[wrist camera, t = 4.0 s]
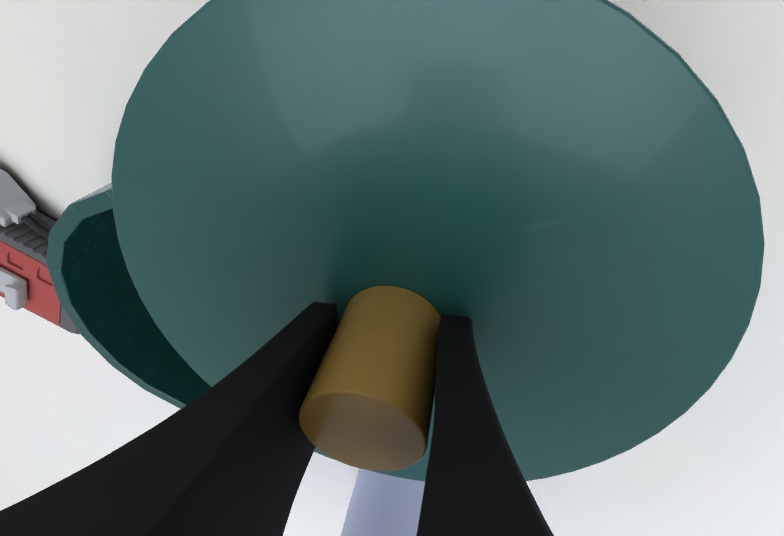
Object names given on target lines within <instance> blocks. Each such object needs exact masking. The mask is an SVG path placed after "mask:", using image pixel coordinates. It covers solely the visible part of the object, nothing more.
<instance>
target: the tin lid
mask: <svg viewBox="0 0 784 536" xmlns="http://www.w3.org/2000/svg"><path fill="white" fill-rule="evenodd" d="M112 201H113V213H114V219H115V224H116V230H117V235H118V241H119V244H120V247H121V250H122V253H123V256H124V259H125V263H126V266H127V269H128V272H129V274H130V276H131V278H132V280H133V282H134V285H135V287H136V289H137V291H138V293H139V296H140V298H141V300H142V301H143V303H144V305H145V306H146V308H147V310H148V311H149V313H150V315H151V316H152V318H153V320H154V322H155V323H156V325H157V326H158V327H159V329H160V330H161V331H162V333H163V334H164V336H165V337H166V338H167V340H168V341H169V342H170V344H171V345H172V346H173V348H174V349H175V350H176V351H177V352H178V353H179V354H180V356H181V357H182V358H183V359H184V360H185V361H186V362H187V363H188V365H189V366H190V367H191V368H192V369H193V370H194V371H195V372H196V373H197V374H198V375H199V376H200V377H201V378H202V379H204V380H205V381H206V382H207V383H208V384H209V385H210V386H211V387H213V386H214V385H215V384H216V383H218V382H219V381H220V380H222V379H223V378H224V377H225V376H227V375H228V374H229V373H230V372H232V371H233V370H234V369H236V368H237V367H238V366H239V365H241V364H242V363H243V362H244V361H246V360H247V359H248V358H249V357H250V356H252V355H253V354H254V353H255V352H256V351H257V350H259V349H260V348H261V347H262V346H263V345H264V344H266V343H267V342H268V341H269V340H270V339H271V338H273V337H274V336H275V335H276V334H277V333H278V332H279V331H281V330H282V329H283V328H284V327H285V326H286V325H287V324H288V323H290V322H291V321H292V320H293V319H294V318H295V317H296V316H297V315H299V314H300V313H301V312H302V311H303V310H304V309H306V308H307V307H308V306H309V305H310V304H311V303H313V302H321V303H331V304H336V305H337V311H338V317H339V324H338V326H337V328H336V331H335V333H334V335H333V337H332V339H331V342H330V344H329V346H328V348H327V350H326V352H325V355H324V357H323V359H322V361H321V363H320V366H319V368H318V370H317V372H316V374H315V377H314V379H313V381H312V383H311V385H310V388H309V390H308V392H307V394H306V396H305V399H304V401H303V403H302V405H301V407H300V411H299V423H300V426H301V429H302V431H303V433H304V434H305V436H306V437H307V438H308V440H309V441H310V442H311V443H312V444H313V445H314V446H316V447H315V449H314V452H317V453H319V454H321V455H324V456H326V457H329V458H332V459H334V460H337V461H340V462H342V463H344V464H347V465H350V466H353V467H357V468H361V469H365V470H369V471H373V472H376V473H380V474H385V475H390V476H394V477H399V478H404V479H411V480H418V481H425V479H426V473H427V466H428V460H429V453H430V447H431V440H432V434H433V423H434V409H435V379H436V350H437V334H438V329H439V324H440V319H441V315H442V314H445V315H456V316H466V317H469V318H470V319H471V320H472V326H473V335H474V341H475V346H476V351H477V355H478V359H479V363H480V367H481V370H482V374H483V377H484V380H485V383H486V386H487V389H488V392H489V395H490V398H491V401H492V404H493V406H494V409H495V412H496V414H497V417H498V419H499V422H500V424H501V427H502V429H503V432H504V434H505V437H506V439H507V442H508V444H509V446H510V449H511V451H512V453H513V455H514V458H515V460H516V462H517V464H518V466H519V468H520V471H521V473H522V475H523V477H524V479H525V481H529V480H536V479H543V478H548V477H552V476H556V475H560V474H564V473H569V472H573V471H576V470H579V469H582V468H585V467H588V466H591V465H594V464H597V463H600V462H603V461H605V460H607V459H610V458H612V457H614V456H616V455H619V454H621V453H623V452H625V451H627V450H630V449H632V448H633V447H635V446H637V445H639V444H640V443H642V442H644V441H645V440H647V439H649V438H651V437H652V436H654V435H656V434H657V433H659V432H660V431H662V430H663V429H664V428H666V427H667V426H668V425H670V424H671V423H672V422H674V421H675V420H676V419H677V418H679V417H680V416H681V415H683V414H684V413H685V412H686V411H687V410H688V409H689V408H690V407H691V406H692V405H693V404H694V403H695V402H696V401H697V400H698V399H699V398H700V397H701V396H703V395H704V394H705V393H706V392H707V391H708V390H709V389H710V387H711V386H712V385H713V383H714V382H715V381H716V379H717V378H718V377H719V375H720V374H721V373H722V371H723V370H724V368H725V367H726V366H727V364H728V363H729V362H730V360H731V359H732V357H733V355H734V353H735V351H736V349H737V347H738V345H739V343H740V341H741V340H742V338H743V336H744V334H745V332H746V330H747V328H748V326H749V323H750V319H751V316H752V313H753V309H754V306H755V303H756V299H757V296H758V293H759V289H760V284H761V274H762V264H763V253H764V235H763V225H762V216H761V206H760V197H759V193H758V190H757V187H756V184H755V181H754V178H753V174H752V171H751V168H750V165H749V162H748V159H747V156H746V152H745V149H744V147H743V145H742V143H741V142H740V140H739V138H738V136H737V134H736V133H735V131H734V129H733V127H732V125H731V124H730V122H729V120H728V118H727V116H726V115H725V113H724V111H723V109H722V107H721V106H720V104H719V102H718V100H717V99H716V98H715V96H714V95H713V94H712V93H711V92H710V90H709V89H708V88H707V87H706V86H705V84H704V83H703V82H702V81H701V80H700V78H699V77H698V76H697V75H696V74H695V73H694V71H693V70H692V69H691V68H690V67H689V65H688V64H687V63H686V62H685V61H684V59H683V58H682V57H681V56H680V55H679V53H677V52H676V51H675V50H674V49H672V48H671V47H670V46H669V45H668V44H666V43H665V42H664V41H663V40H662V39H660V38H659V37H658V36H657V35H655V34H654V33H653V32H652V31H651V30H649V29H648V28H647V27H646V26H645V25H643V24H642V23H641V22H640V21H638V20H637V19H636V18H635V17H634V16H632V15H631V14H630V13H629V12H627V11H625V10H624V9H622V8H620V7H618V6H616V5H615V4H613V3H611V2H609V1H607V0H210V1H208V2H207V3H206V4H205V5H204V6H203V7H202V8H200V9H199V10H198V11H197V12H196V13H195V14H194V15H192V16H191V17H190V18H189V19H188V20H187V21H186V22H185V23H183V24H182V25H181V26H180V27H179V28H178V29H177V30H175V31H174V32H173V33H172V34H171V36H170V37H169V38H168V40H167V41H166V42H165V43H164V45H163V46H162V47H161V49H160V50H159V51H158V52H157V54H156V55H155V56H154V58H153V59H152V60H151V61H150V63H149V64H148V65H147V67H146V68H145V70H144V72H143V74H142V75H141V77H140V79H139V81H138V83H137V85H136V87H135V89H134V91H133V93H132V95H131V97H130V99H129V101H128V103H127V105H126V108H125V112H124V115H123V118H122V122H121V125H120V128H119V132H118V135H117V138H116V143H115V151H114V160H113V168H112Z"/></svg>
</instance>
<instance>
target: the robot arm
mask: <svg viewBox="0 0 784 536" xmlns="http://www.w3.org/2000/svg"><path fill="white" fill-rule="evenodd" d="M338 324H339V317H338V311H337V305H336V304H331V303H321V302H313V303H311V304H310V305H309V306H308V307H307V308H306V309H304V310H303V311H302V312H301V313H300V314H299V315H297V316H296V317H295V318H294V319H293V320H292V321H291V322H290V323H288V324H287V325H286V326H285V327H284V328H283V329H282V330H281V331H279V332H278V333H277V334H276V335H275V336H274V337H273V338H271V339H270V340H269V341H268V342H267V343H266V344H264V345H263V346H262V347H261V348H260V349H259V350H257V351H256V352H255V353H254V354H253V355H252V356H250V357H249V358H248V359H247V360H246V361H244V362H243V363H242V364H241V365H239V366H238V367H237V368H236V369H234V370H233V371H232V372H230V373H229V374H228V375H227V376H225V377H224V378H223V379H222V380H220V381H219V382H218V383H216V384H215V385H214V386H213V387H211V388H210V389H209V390H207V391H206V392H205V393H203V394H202V395H200V396H199V397H198V398H196V399H195V400H193V401H192V402H191V403H189V404H188V405H186V406H185V407H183V408H182V409H180V410H179V411H177V412H176V413H174V414H173V415H171V416H170V417H168V418H167V419H166V420H164V421H163V422H161V423H159V424H158V425H156V426H155V427H153V428H152V429H150V430H148V431H147V432H145V433H143V434H142V435H140V436H138V437H137V438H135V439H133V440H132V441H130V442H128V443H127V444H125V445H123V446H122V447H120V448H118V449H117V450H115V451H113V452H112V453H110V454H108V455H107V456H105V457H103V458H101V459H100V460H98V461H96V462H94V463H93V464H91V465H89V466H87V467H85V468H83V469H82V470H80V471H78V472H76V473H74V474H72V475H71V476H69V477H67V478H65V479H63V480H61V481H59V482H57V483H55V484H53V485H51V486H50V487H48V488H46V489H44V490H42V491H40V492H38V493H36V494H34V495H32V496H30V497H28V498H26V499H24V500H22V501H20V502H18V503H16V504H14V505H12V506H10V507H8V508H6V509H4V510H1V511H0V536H283V532H284V529H285V526H286V523H287V520H288V517H289V513H290V510H291V507H292V504H293V501H294V498H295V496H296V493H297V490H298V488H299V485H300V483H301V480H302V478H303V475H304V473H305V471H306V468H307V466H308V463H309V461H310V459H311V456H312V454H313V452H314V449H315V447H316V446H314V445H313V444H312V443H311V442H310V441H309V440H308V438H307V437H306V436H305V434H304V433H303V431H302V429H301V426H300V423H299V411H300V407H301V405H302V403H303V401H304V399H305V396H306V394H307V392H308V390H309V388H310V385H311V383H312V381H313V379H314V377H315V374H316V372H317V370H318V368H319V366H320V363H321V361H322V359H323V357H324V355H325V352H326V350H327V348H328V346H329V344H330V342H331V339H332V337H333V335H334V333H335V331H336V328H337V326H338ZM341 536H554V535H553V533H552V532H551V530H550V528H549V526H548V524H547V523H546V521H545V519H544V517H543V515H542V513H541V511H540V509H539V507H538V505H537V503H536V501H535V499H534V497H533V495H532V493H531V491H530V489H529V487H528V485H527V483H526V481H525V479H524V477H523V475H522V473H521V471H520V468H519V466H518V464H517V462H516V460H515V458H514V455H513V453H512V451H511V449H510V446H509V444H508V442H507V439H506V437H505V434H504V432H503V429H502V427H501V424H500V422H499V419H498V417H497V414H496V412H495V409H494V406H493V404H492V401H491V398H490V395H489V392H488V389H487V386H486V383H485V380H484V377H483V374H482V370H481V367H480V363H479V359H478V355H477V351H476V346H475V341H474V335H473V326H472V320H471V319H470V318H469V317H466V316H456V315H445V314H442V315H441V319H440V324H439V329H438V334H437V350H436V379H435V409H434V423H433V434H432V440H431V447H430V453H429V460H428V466H427V473H426V479H425V481H418V480H411V479H404V478H399V477H394V476H390V475H385V474H380V473H376V472H373V471H369V470H365V469H361V468H359V471H358V475H357V479H356V482H355V486H354V489H353V493H352V497H351V500H350V504H349V508H348V511H347V515H346V518H345V522H344V526H343V529H342V533H341Z"/></svg>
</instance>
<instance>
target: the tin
mask: <svg viewBox="0 0 784 536" xmlns="http://www.w3.org/2000/svg"><path fill="white" fill-rule="evenodd" d="M47 268H48V271H49V274H50V277H51V280H52V283H53V285H54V288H55V291H56V294H57V297H58V300H59V303H60V304H61V306H62V307H63V309H64V310H65V312H66V313H67V315H68V316H69V318H70V319H71V321H72V322H73V324H74V325H75V327H76V328H77V329H78V331H79V332H80V334H81V335H82V336H83V337H84V338H85V339H86V340H87V341H88V342H89V343H90V344H91V345H92V346H93V347H94V348H95V349H96V350H97V351H98V352H99V353H100V354H101V355H102V356H103V357H104V358H105V359H106V360H107V361H108V362H109V363H110V364H111V365H112V366H113V367H114V368H116V369H117V370H118V371H120V372H121V373H123V374H124V375H125V376H127V377H128V378H129V379H131V380H132V381H133V382H135V383H136V384H138V385H139V386H140V387H142V388H143V389H144V390H146V391H148V392H150V393H152V394H154V395H156V396H158V397H160V398H161V399H163V400H165V401H167V402H169V403H171V404H173V405H175V406H177V407H178V408H180V409H182V408H183V407H185V406H186V405H188V404H189V403H191V402H192V401H193V400H195V399H196V398H198V397H199V396H200V395H202V394H203V393H205V392H206V391H207V390H209V389H210V388H211V386H210V385H209V384H208V383H207V382H206V381H205V380H204V379H202V378H201V377H200V376H199V375H198V374H197V373H196V372H195V371H194V370H193V369H192V368H191V367H190V366H189V365H188V363H187V362H186V361H185V360H184V359H183V358H182V357H181V356H180V354H179V353H178V352H177V351H176V350H175V349H174V348H173V346H172V345H171V344H170V342H169V341H168V340H167V338H166V337H165V336H164V334H163V333H162V331H161V330H160V329H159V327H158V326H157V325H156V323H155V322H154V320H153V318H152V316H151V315H150V313H149V311H148V310H147V308H146V306H145V305H144V303H143V301H142V300H141V298H140V296H139V293H138V291H137V289H136V287H135V285H134V282H133V280H132V278H131V276H130V274H129V272H128V269H127V266H126V263H125V259H124V256H123V253H122V250H121V247H120V244H119V241H118V235H117V230H116V224H115V219H114V213H113V201H112V183H110V184H108V185H106V186H104V187H103V188H101V189H99V190H97V191H95V192H93V193H91V194H89V195H87V196H85V197H83V198H81V199H79V200H77V201H75V202H73V203H71V204H70V205H69V206H68V207H67V209H66V210H65V211H64V213H63V214H62V215H61V217H60V218H59V219H58V221H57V222H56V223H55V225H54V226H53V227H52V229H51V230H50V232H49V237H48V251H47Z"/></svg>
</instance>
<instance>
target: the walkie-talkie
mask: <svg viewBox="0 0 784 536" xmlns="http://www.w3.org/2000/svg"><path fill="white" fill-rule="evenodd" d="M55 223H56V221H54V220H52V219H51V218H49V217H47V216H45V215H44V214H42V213H40V212H38V211H36V204H35V203H34V202H33V201H32V200H31V199H30V197H29V196H28V195H27V194H26V193H25V192H24V191H23V190H22V189H21V187H20V186H19V185H18V184H17V183H16V182H15V181H14V180H13V179H12V177H11V176H10V175H9V174H8V173H7V172H5V171H3V170H2V169H0V296H2V297H4V298H5V303H6V304H7V305H8V306H9V307H11V308H12V309H14V310H18V309H20V308H22V307H23V308H25V309H27V310H29V311H31V312H33V313H35V314H36V315H38V316H40V317H42V318H44V319H46V320H48V321H50V322H52V323H54V324H56V325H58V326H60V327H61V328H63V329H65V330H67V331H69V332H71V333H75V334H80V332H79V331H78V329H77V328H76V327H75V325H74V324H73V322H72V321H71V319H70V318H69V316H68V315H67V313H66V312H65V310H64V309H63V307H62V306H61V304H60V303H59V300H58V297H57V294H56V291H55V288H54V285H53V283H52V280H51V277H50V274H49V271H48V268H47V251H48V237H49V232H50V230H51V229H52V227H53V226H54V225H55Z"/></svg>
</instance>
